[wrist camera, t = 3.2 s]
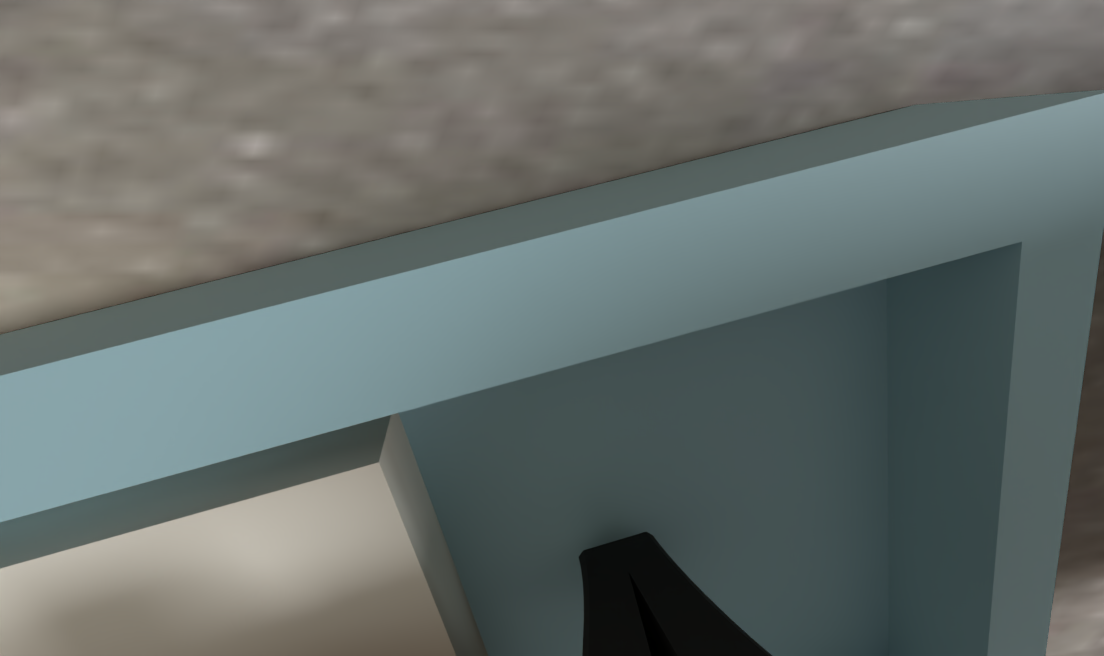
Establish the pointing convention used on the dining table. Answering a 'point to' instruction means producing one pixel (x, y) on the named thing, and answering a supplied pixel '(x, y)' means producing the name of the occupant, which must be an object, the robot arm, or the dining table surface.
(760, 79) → the dining table surface
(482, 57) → the dining table surface
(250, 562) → the cover plate
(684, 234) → the teal box
